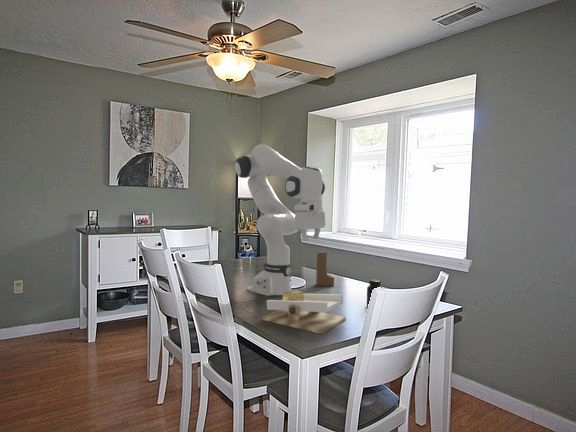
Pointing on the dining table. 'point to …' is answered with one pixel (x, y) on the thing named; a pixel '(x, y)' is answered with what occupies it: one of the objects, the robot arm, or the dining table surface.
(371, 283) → the supplement bottle
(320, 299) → the beam
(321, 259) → the wooden block
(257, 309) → the dining table surface
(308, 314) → the stand
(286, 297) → the block
